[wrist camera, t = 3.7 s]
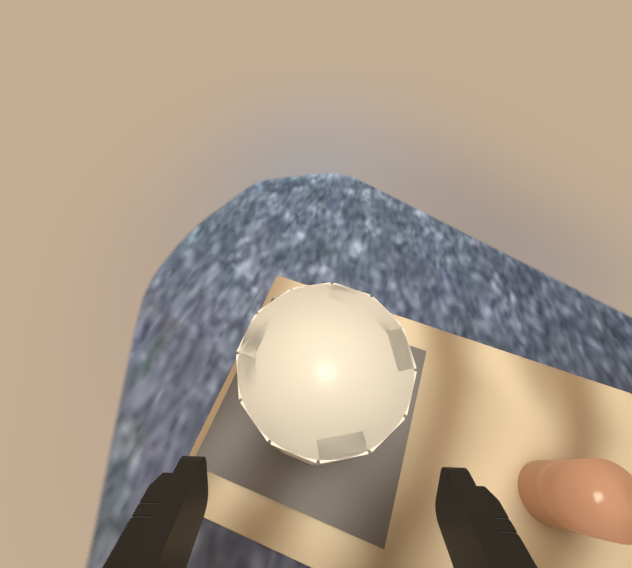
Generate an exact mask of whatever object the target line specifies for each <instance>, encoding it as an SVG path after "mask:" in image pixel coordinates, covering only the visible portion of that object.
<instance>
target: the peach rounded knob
mask: <svg viewBox="0 0 632 568" xmlns="http://www.w3.org/2000/svg"><path fill="white" fill-rule="evenodd" d="M518 491H519V495H520V498H521V500H522V503H523V504H524V506H525V508H526V509H527V511H528V512H529V513H530V514H531V515H532V516H533V517H534V518H535V519H536V520H537V521H539V522H540V523H542V524H544V525H546V526H549V527H552V528H556V529H560V530H564V531H568V532H573V533H577V534H581V535H585V536H589V537H593V538H597V539H601V540H606V541H610V542H614V543H618V544H623V545H632V475H631V474H630V473H629V472H628V471H626V470H625V469H624V468H622V467H621V466H620V465H618V464H616V463H614V462H612V461H610V460H606V459H602V458H584V459H557V460H535V461H531V462H529V463H527V464H526V465H524V466H523V468H522V469H521V471H520V473H519V476H518Z"/></svg>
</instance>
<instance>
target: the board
mask: <svg viewBox="0 0 632 568" xmlns="http://www.w3.org/2000/svg"><path fill="white" fill-rule="evenodd" d="M302 286H307V285H304V284H301V283H298V282H296V281H293V280H290V279H287V278H284V277H281V276H278V275H277V277H276V279H275V281H274V283H273V286H272V288H271V290H270V292H269V294H268V296H267V298H266V300H265V302H264V304H263V306H262V308H263V307H265V306H266V305H267V304H269V303H270V302H272V301H273V300H274V299H276V298H277V297H279V296H280V295H282V294H283V293H284V292H286V291H287V290H289V289H290V290H293V288H295V287H302ZM262 308H261V309H262ZM392 315H393V316H394V317H395V318H396V319H397V320H398V321H399V322H400V323H401V324H402V326H401V328H404V330H405V333H406V336H407V339H408V342H409V345H410V349H411V352H412V355H413V358H414V361H415V364H416V369H415V370H414V371H416V372H417V373H416V378H415V382H414V387H413V392H412V396H411V401H410V405H409V410H408V414H407V416H405V417H404V418H405V420H404V421H403V422H402V423H401V424H400V425H399V426H398V427H397V428H396V429H395V430H394V431H393V432H392V433H391V434H390V435H389V436H388V437H387V438H386V439H385V440H384V441H383V442H382V443H381V444H380V445H379V446H378V447H377V448H376V449H375V450H374V451H373V452H371V453H368V454H367V455H363V456H359V457H354V458H350V459H346V460H341V461H336V462H331V463H326V464H321V465H316V466H315V464H314V465H311V464H308V463H306V462H303V461H301V460H299V459H296V458H294V457H291V456H289V455H287V454H285V453H283V452H282V451H280V450H279V449H277V448H276V447H274V446H272V445H271V444H270V443H269V442H267V441H266V439H265V438H264V436H263V435H262V433H261V432H260V431H259V429H258V428H257V426H256V425H255V423H254V422H253V420H252V419H251V418H250V416H249V415H248V413H247V412H246V410H245V409H244V407H243V406H242V405H241V403H240V402H241V400H240V399H239V394H238V378H237V361H235V363H234V365H233V367H232V369H231V371H230V373H229V375H228V377H227V379H226V381H225V383H224V385H223V387H222V389H221V391H220V393H219V395H218V397H217V399H216V401H215V403H214V405H213V407H212V410H211V412H210V414H209V416H208V418H207V420H206V422H205V424H204V426H203V428H202V430H201V432H200V434H199V436H198V438H197V440H196V442H195V444H194V446H193V448H192V450H191V452H190V454H189V456H202V457H206V461H207V477H208V502H207V507H206V511H205V514H204V518H206V519H209V520H211V521H213V522H215V523H217V524H219V525H221V526H224V527H226V528H228V529H230V530H232V531H234V532H236V533H238V534H241V535H243V536H245V537H247V538H249V539H251V540H253V541H256V542H258V543H260V544H262V545H264V546H266V547H268V548H271V549H273V550H275V551H277V552H279V553H281V554H283V555H286V556H288V557H290V558H292V559H294V560H296V561H298V562H301V563H303V564H305V565H307V566H309V567H311V568H454V567H453V565H452V562H451V559H450V556H449V553H448V550H447V548H446V545H445V542H444V539H443V536H442V533H441V531H440V528H439V525H438V522H437V518H436V511H435V500H436V495H437V489H438V483H439V478H440V472H441V469H442V467H460V468H466V469H467V470H468V471H469V472H470V474H471V476H472V478H473V480H474V482H475V484H476V486H485V487H486V488H487V489H488V490H489V491H490V492H491V493H492V494H493V495H494V496H495V497H496V498H497V499H498V500H499V501H500V503H501V505H502V506H503V508H504V510H505V512H506V513H507V515H508V517H509V520H510V521H511V522H512V524H513V526H514V527H515V529H516V531H517V535H519V536H520V538H521V540H522V541H523V543H524V545H525V547H526V548H527V550H528V552H529V554H530V555H531V557H532V559H533V561H534V562H535V564H536V566H537V568H632V545H623V544H618V543H614V542H610V541H606V540H601V539H597V538H593V537H589V536H585V535H581V534H577V533H573V532H568V531H564V530H560V529H556V528H552V527H549V526H546V525H544V524H542V523H540V522H539V521H537V520H536V519H535V518H534V517H533V516H532V515H531V514H530V513H529V512H528V511H527V509H526V508H525V506H524V504H523V503H522V500H521V498H520V495H519V491H518V476H519V473H520V471H521V469H522V468H523V466H524V465H526V464H527V463H529V462H531V461H535V460H557V459H584V458H602V459H606V460H610V461H612V462H614V463H616V464H618V465H620V466H621V467H622V468H624V469H625V470H626V471H628V472H629V473H630V474H631V475H632V394H631V393H628V392H625V391H622V390H619V389H616V388H613V387H610V386H607V385H604V384H601V383H598V382H595V381H592V380H589V379H586V378H583V377H580V376H577V375H574V374H571V373H568V372H565V371H562V370H559V369H556V368H553V367H550V366H547V365H544V364H541V363H538V362H535V361H532V360H529V359H526V358H523V357H520V356H517V355H514V354H511V353H508V352H505V351H502V350H499V349H496V348H493V347H490V346H487V345H484V344H481V343H478V342H475V341H472V340H469V339H466V338H463V337H460V336H457V335H454V334H451V333H448V332H445V331H442V330H439V329H436V328H433V327H430V326H427V325H424V324H421V323H418V322H415V321H412V320H409V319H406V318H403V317H400V316H397V315H394V314H392Z"/></svg>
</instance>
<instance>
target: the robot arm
mask: <svg viewBox="0 0 632 568" xmlns="http://www.w3.org/2000/svg"><path fill="white" fill-rule="evenodd" d="M207 502H208V477H207V461H206V457H202V456H182V457H181V458H180V460H179V462H178V464H177V466H176V468H175V470H174V472H173V473H162V474H161V475H160V476H159V477H158V478H157V479H156V480H155V481H154V482H153V483H152V484H151V485H150V486H149V487H148V489H147V491H146V492H145V494H144V496H143V498H142V499H141V501H140V505H138V506H137V508H136V510H135V512H134V513H133V517H132V518H131V519H130V521H129V522H128V524H127V526H126V528H125V529H124V531H123V533H122V535H121V536H120V538H119V540H118V542H117V543H116V545H115V547H114V549H113V551H112V552H111V554H110V556H109V558H108V559H107V561H106V563H105V565H104V566H103V568H186V566H187V563H188V560H189V557H190V554H191V551H192V549H193V546H194V543H195V540H196V537H197V534H198V531H199V529H200V526H201V523H202V520H203V517H204V514H205V511H206V507H207ZM435 511H436V518H437V522H438V525H439V528H440V531H441V533H442V536H443V539H444V542H445V545H446V548H447V550H448V553H449V556H450V559H451V562H452V565H453V567H454V568H537V566H536V564H535V562H534V561H533V559H532V557H531V555H530V554H529V552H528V550H527V548H526V547H525V545H524V543H523V541H522V540H521V538H520V536H519V535H517V531H516V529H515V527H514V526H513V524H512V522H511V521H510V520H509V517H508V515H507V513H506V512H505V510H504V508H503V506H502V505H501V503H500V501H499V500H498V499H497V498H496V497H495V496H494V495H493V494H492V493H491V492H490V491H489V490H488V489H487V488H486V487H485V486H476V484H475V482H474V480H473V478H472V476H471V474H470V472H469V471H468V470H467V469H466V468H460V467H442V469H441V472H440V478H439V483H438V489H437V495H436V500H435Z"/></svg>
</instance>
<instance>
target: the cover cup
mask: <svg viewBox="0 0 632 568" xmlns="http://www.w3.org/2000/svg"><path fill="white" fill-rule="evenodd" d="M257 312H258V315H256V314H255V315H254V317H253V319H252V321H251V324H250V326H249V328H248V330H247V332H246V334H245V336H244V338H243V340H242V342H241V344H240V346H239V348H238V350H237V352H238V354H236V361H237V378H238V394H239V399H240V400H241V402H240V403H241V405H242V406H243V407H244V409H245V410H246V412H247V413H248V415H249V416H250V418H251V419H252V420H253V422H254V423H255V425H256V426H257V428H258V429H259V431H260V432H261V433H262V435H263V436H264V438H265V439H266V441H267V442H269V443H270V444H271V445H272V446H274V447H276V448H277V449H279V450H280V451H282V452H283V453H285V454H287V455H289V456H291V457H294V458H296V459H299V460H301V461H303V462H306V463H308V464H311V465H314V464H315V466H316V465H321V464H326V463H331V462H336V461H341V460H346V459H350V458H354V457H359V456H363V455H367V454H368V453H371V452H373V451H374V450H375V449H376V448H377V447H378V446H379V445H380V444H381V443H382V442H383V441H384V440H385V439H386V438H387V437H388V436H389V435H390V434H391V433H392V432H393V431H394V430H395V429H396V428H397V427H398V426H399V425H400V424H401V423H402V422H403V421H404V420H405V418H404V417H405V416H407V414H408V410H409V405H410V401H411V396H412V392H413V387H414V382H415V378H416V373H417V372H416V371H414V370H415V369H416V364H415V361H414V358H413V355H412V352H411V349H410V345H409V342H408V339H407V336H406V333H405V330H404V328H401V326H402V324H401V323H400V322H399V321H398V320H397V319H396V318H395V317H394V316H393V315H392V314H391V313H390V312H389V311H388V310H387V309H386V308H385V307H384V306H382V305H381V304H380V303H379V302H378V301H377V300H376V299H375V298H374V297H372V298H371V297H370V294H367V293H363V292H360V291H357V290H354V289H351V288H348V287H345V286H342V285H339V284H336V283H333V285H331V283H323V284H316V285H309V286H302V287H295V288H293V290H290V289H289V290H287V291H286V292H284V293H283V294H282V295H280V296H279V297H277V298H276V299H274V300H273V301H272V302H270V303H269V304H267V305H266V306H265V307H263V308H262V309H260V310H259V311H257Z"/></svg>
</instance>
